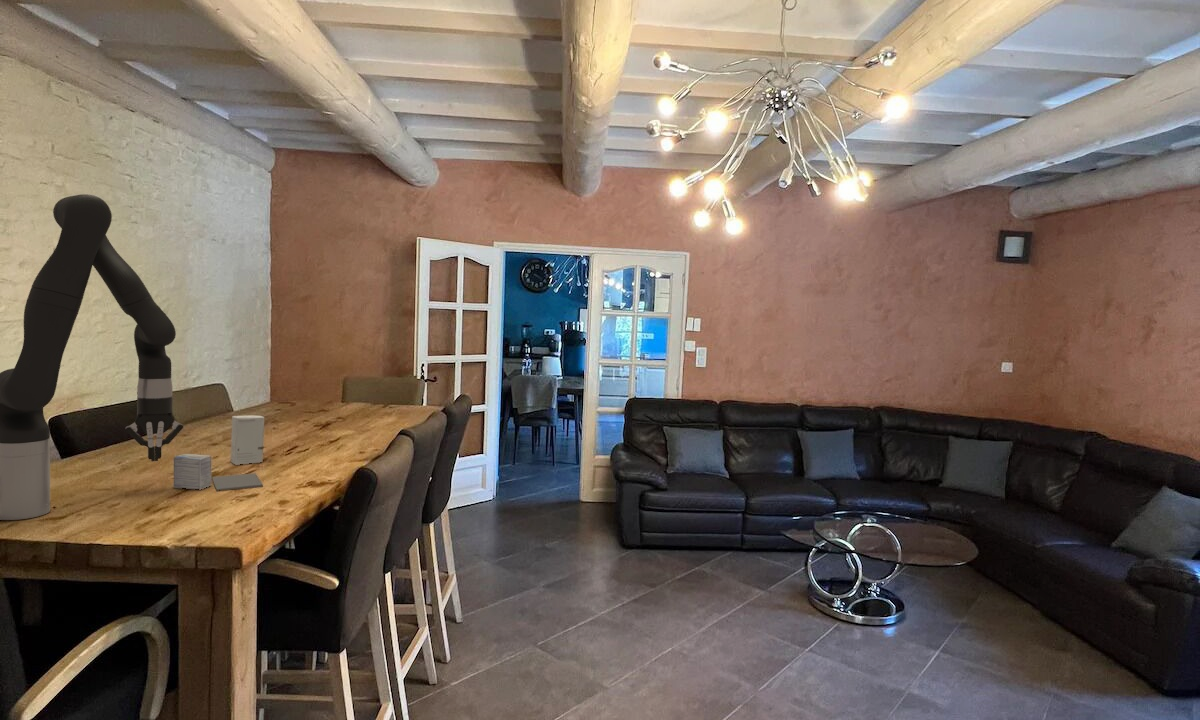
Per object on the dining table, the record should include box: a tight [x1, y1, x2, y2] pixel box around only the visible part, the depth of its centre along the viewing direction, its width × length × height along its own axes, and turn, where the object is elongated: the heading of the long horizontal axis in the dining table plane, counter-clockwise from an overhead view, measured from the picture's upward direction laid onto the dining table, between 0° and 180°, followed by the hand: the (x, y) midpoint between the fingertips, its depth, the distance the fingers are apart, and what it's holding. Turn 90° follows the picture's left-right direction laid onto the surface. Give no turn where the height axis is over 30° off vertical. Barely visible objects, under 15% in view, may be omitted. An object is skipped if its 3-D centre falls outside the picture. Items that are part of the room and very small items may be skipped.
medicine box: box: [173, 453, 212, 491], centre depth 171 cm, size 8×4×9 cm, turn 84°
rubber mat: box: [211, 472, 264, 492], centre depth 177 cm, size 11×14×1 cm
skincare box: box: [230, 414, 265, 466], centre depth 200 cm, size 8×6×15 cm
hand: (154, 460), depth 166 cm, fingers closed
